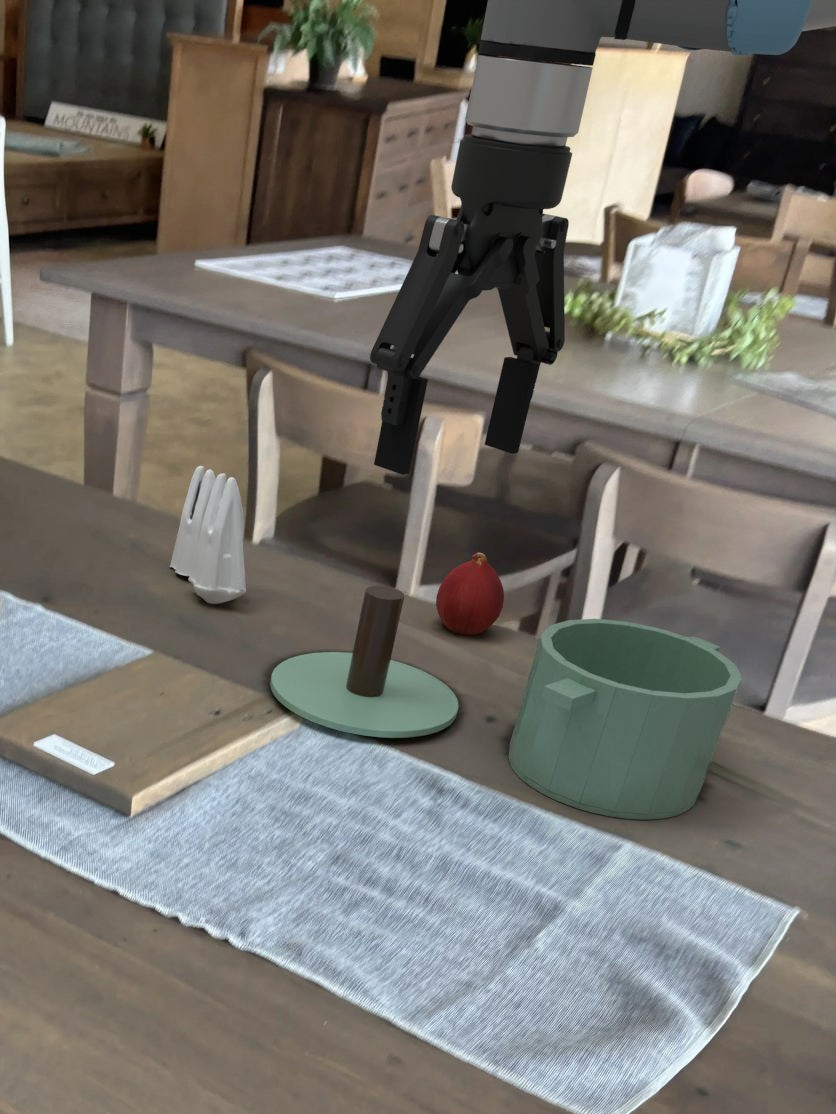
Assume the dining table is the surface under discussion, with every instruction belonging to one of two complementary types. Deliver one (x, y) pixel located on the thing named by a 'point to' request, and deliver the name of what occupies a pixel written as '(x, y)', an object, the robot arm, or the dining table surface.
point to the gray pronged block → (212, 538)
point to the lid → (367, 681)
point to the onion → (470, 597)
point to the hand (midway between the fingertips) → (448, 459)
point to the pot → (622, 717)
